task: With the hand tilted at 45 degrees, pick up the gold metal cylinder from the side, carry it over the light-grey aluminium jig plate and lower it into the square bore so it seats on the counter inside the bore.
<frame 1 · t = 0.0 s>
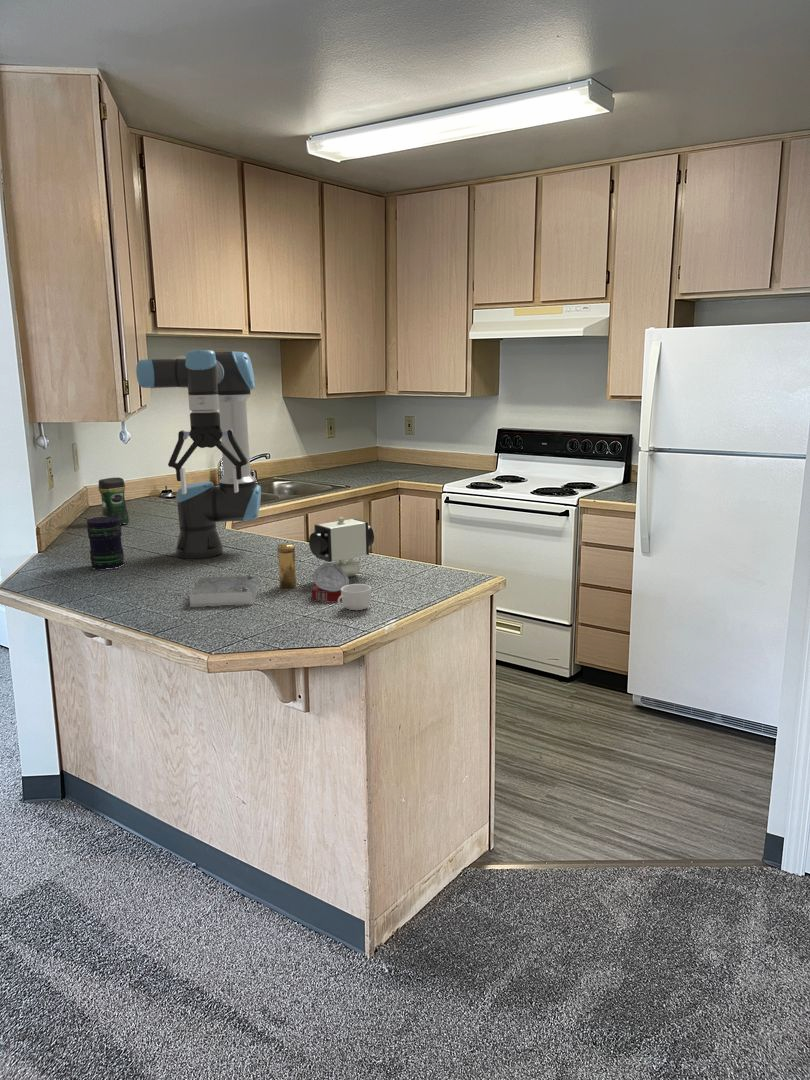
hand: (210, 492, 211), 28 cm above the table, tool pointing down, fingers open, 13 cm apart
teacup: (353, 610, 203), on the table
gold metal cylinder: (288, 586, 224), on the table
canned food: (330, 597, 214), on the table
coffee jar: (115, 525, 314), on the table
jig: (226, 597, 215), on the table
storage jar: (108, 566, 250), on the table
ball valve: (342, 577, 232), on the table
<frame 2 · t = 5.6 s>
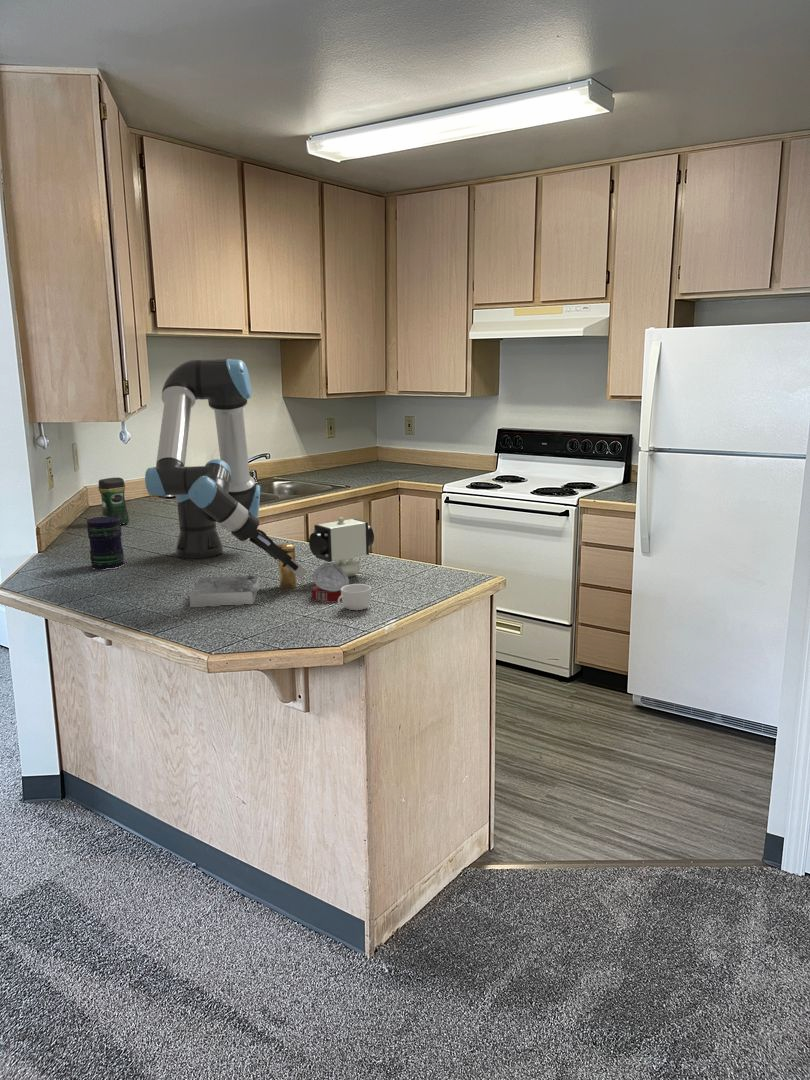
hand: (300, 572, 225), 3 cm above the table, tool tilted 45°, fingers closed on gold metal cylinder, 4 cm apart
gold metal cylinder: (288, 586, 224), on the table, touching gripper
everything else where it was.
when the fingers open (5 cm above the table, at t = 11.3 s): gold metal cylinder drops 1 cm, resting in jig.
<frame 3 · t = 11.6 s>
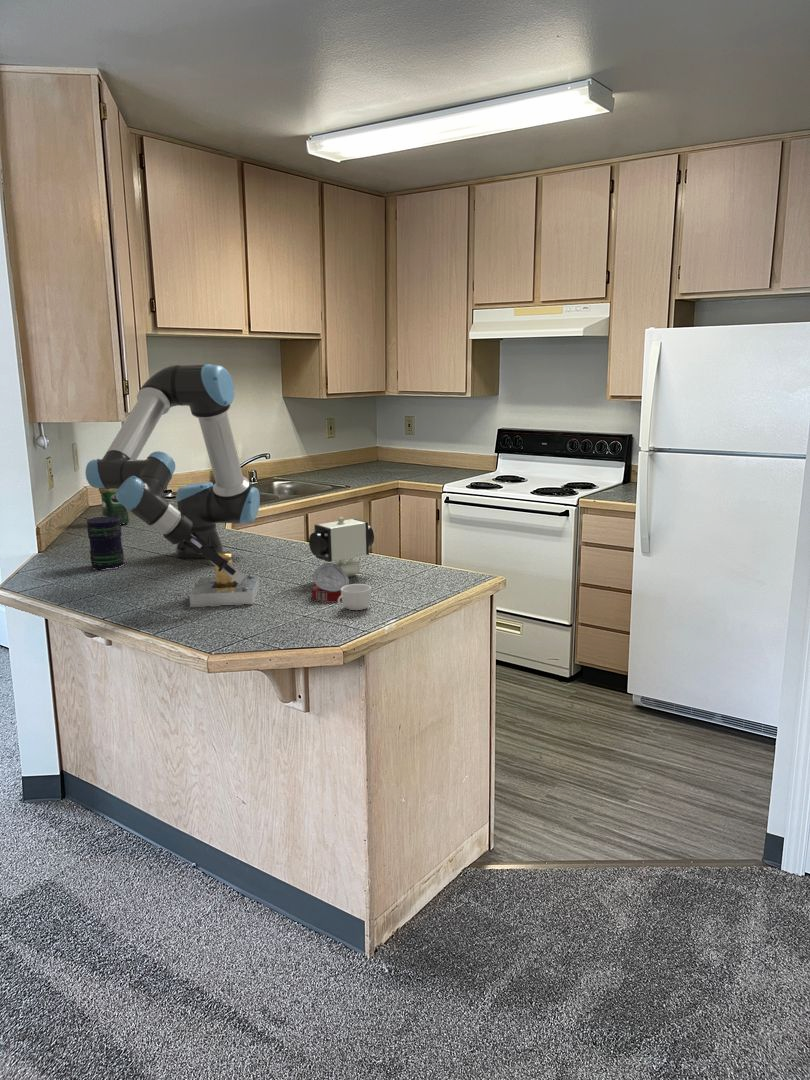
hand: (236, 575, 215), 6 cm above the table, tool tilted 45°, fingers open, 9 cm apart
gold metal cylinder: (226, 597, 215), resting in jig
everything else where it was.
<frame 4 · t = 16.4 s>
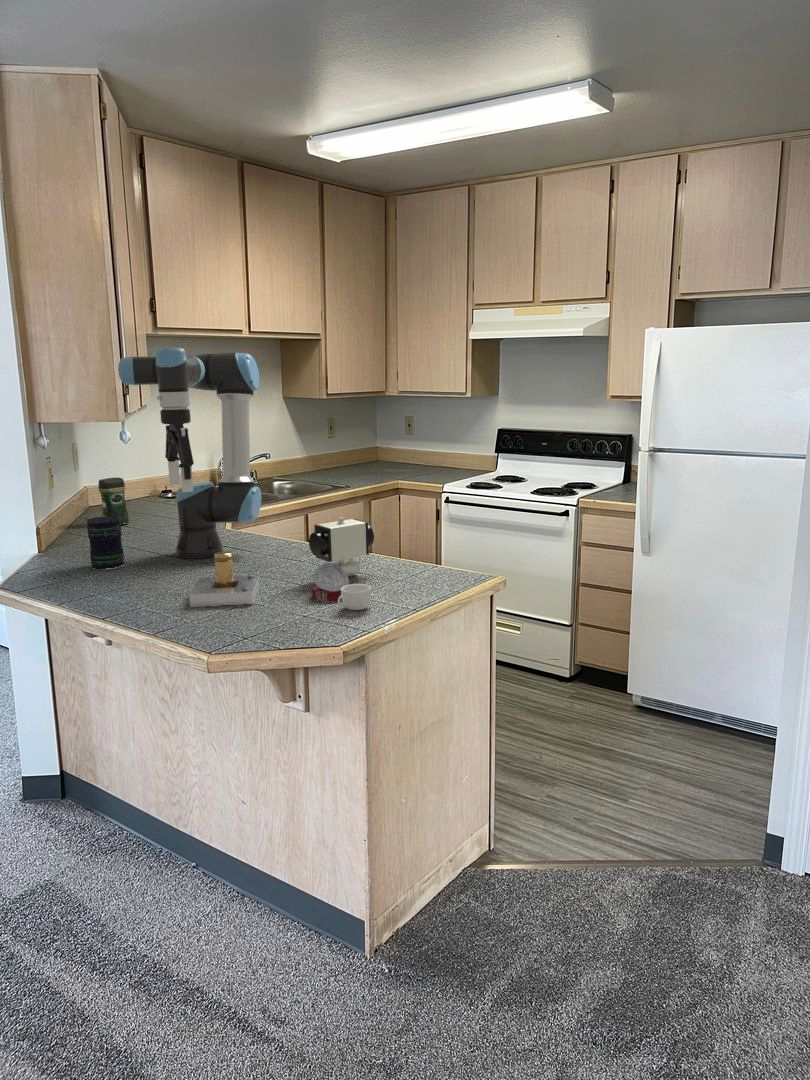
hand: (181, 488, 215), 29 cm above the table, tool pointing down, fingers open, 13 cm apart
nothing on the table moved.
at the end: gold metal cylinder 0.0 cm off-centre on the jig, point 0.0 cm above the jig's base; gold metal cylinder tilted 1°; the gripper is holding nothing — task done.
